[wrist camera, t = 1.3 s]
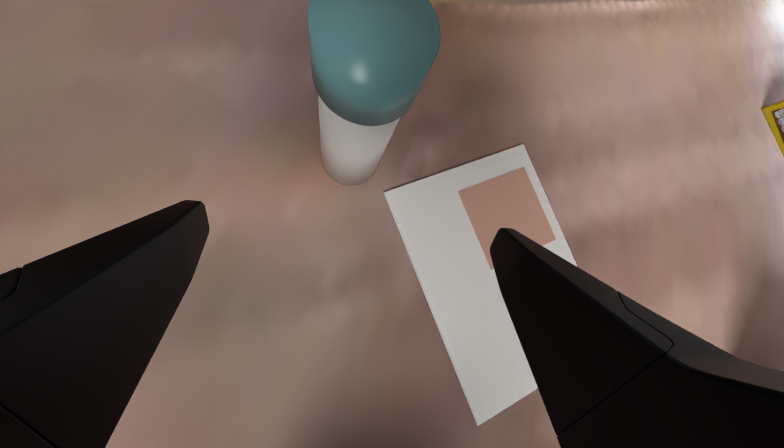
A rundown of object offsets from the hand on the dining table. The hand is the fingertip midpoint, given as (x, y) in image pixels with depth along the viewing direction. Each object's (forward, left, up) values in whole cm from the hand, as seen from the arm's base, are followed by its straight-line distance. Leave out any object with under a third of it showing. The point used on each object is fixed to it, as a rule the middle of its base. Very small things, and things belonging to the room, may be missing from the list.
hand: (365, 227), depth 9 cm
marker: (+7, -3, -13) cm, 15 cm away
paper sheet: (-6, -12, -13) cm, 19 cm away
